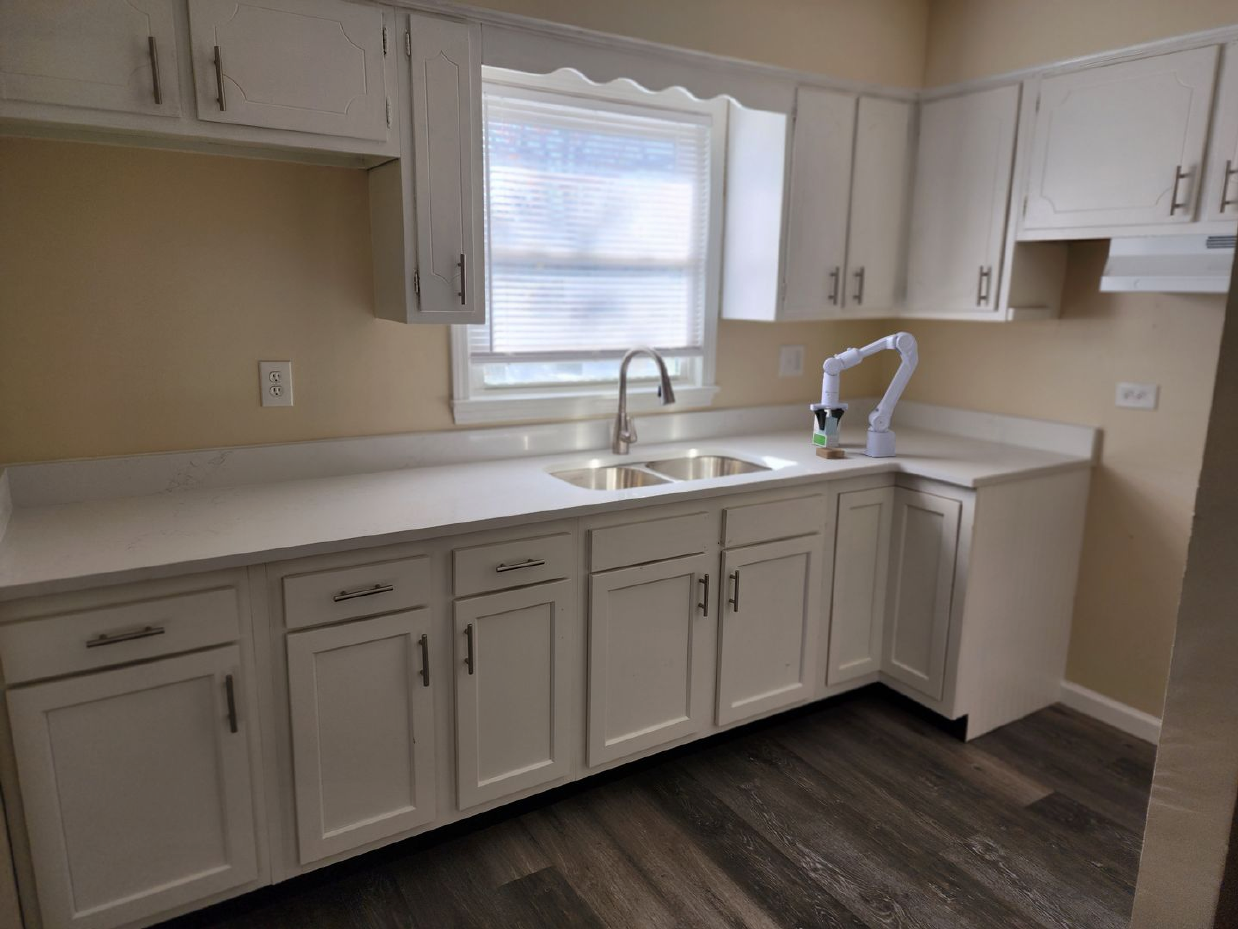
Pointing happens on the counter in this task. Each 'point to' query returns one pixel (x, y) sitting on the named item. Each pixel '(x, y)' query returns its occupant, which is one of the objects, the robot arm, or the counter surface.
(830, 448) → the walnut base
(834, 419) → the blue block
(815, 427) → the skincare box
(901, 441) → the counter surface
